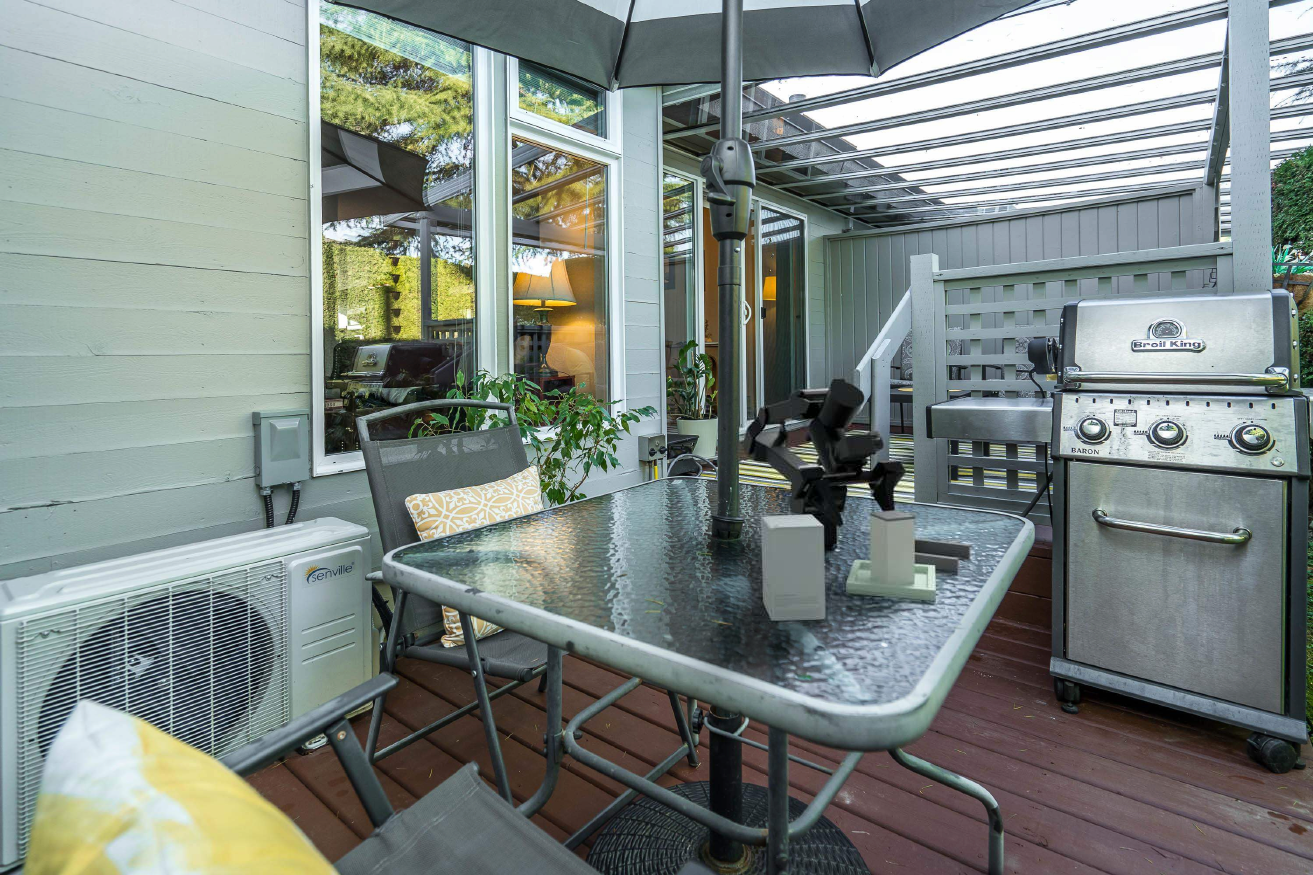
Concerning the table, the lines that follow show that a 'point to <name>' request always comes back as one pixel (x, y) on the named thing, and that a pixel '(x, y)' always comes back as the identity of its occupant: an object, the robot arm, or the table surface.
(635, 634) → the table surface
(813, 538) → the supplement box
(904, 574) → the tall cream pillar
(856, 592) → the tray
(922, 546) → the cradle
